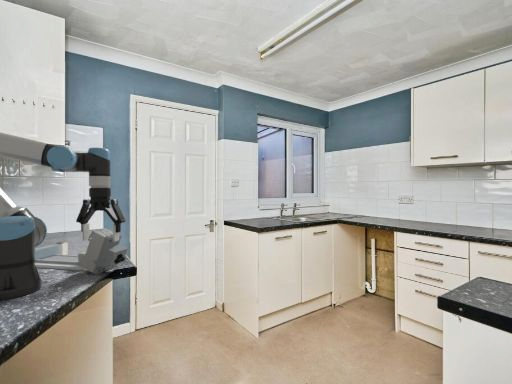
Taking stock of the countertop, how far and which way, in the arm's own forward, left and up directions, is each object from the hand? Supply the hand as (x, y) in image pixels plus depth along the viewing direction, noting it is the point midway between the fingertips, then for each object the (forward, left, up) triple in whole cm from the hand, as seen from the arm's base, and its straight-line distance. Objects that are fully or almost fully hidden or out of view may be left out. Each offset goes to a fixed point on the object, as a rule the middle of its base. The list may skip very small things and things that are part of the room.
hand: (101, 240), depth 110 cm
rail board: (+8, +23, -12) cm, 27 cm away
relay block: (+20, +39, -12) cm, 46 cm away
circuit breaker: (0, 0, -12) cm, 12 cm away
